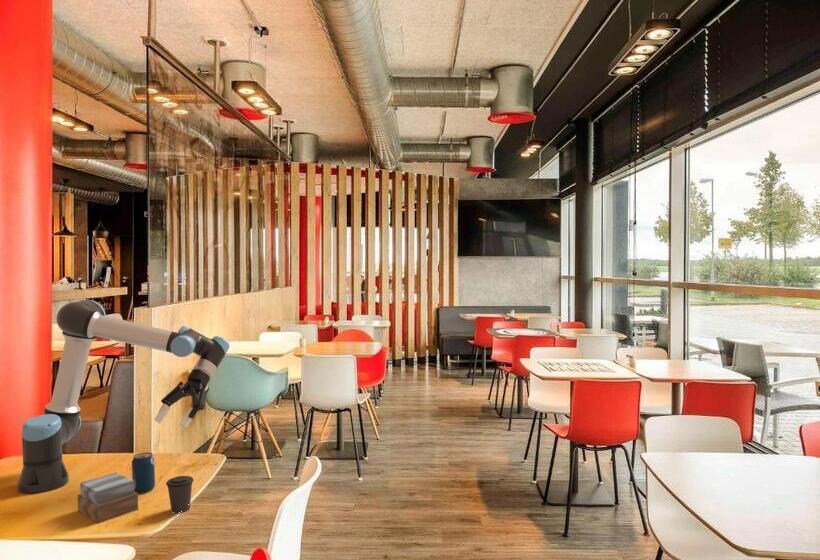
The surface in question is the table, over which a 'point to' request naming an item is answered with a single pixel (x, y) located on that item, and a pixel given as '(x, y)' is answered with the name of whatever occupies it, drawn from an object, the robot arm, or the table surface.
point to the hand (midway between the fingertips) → (169, 423)
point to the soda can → (143, 472)
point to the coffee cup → (180, 493)
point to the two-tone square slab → (107, 497)
